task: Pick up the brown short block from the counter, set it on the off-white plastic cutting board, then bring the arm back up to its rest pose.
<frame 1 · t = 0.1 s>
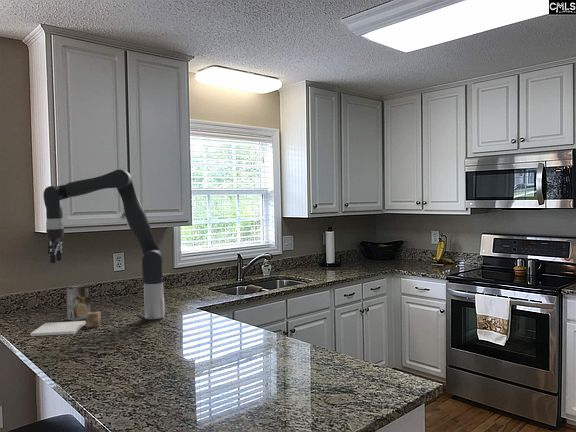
hand: (56, 261, 229), 29 cm above the table, tool pointing down, fingers open, 8 cm apart
brown short block: (94, 325, 223), on the table
coffee box: (79, 318, 237), on the table
cutting board: (59, 329, 217), on the table
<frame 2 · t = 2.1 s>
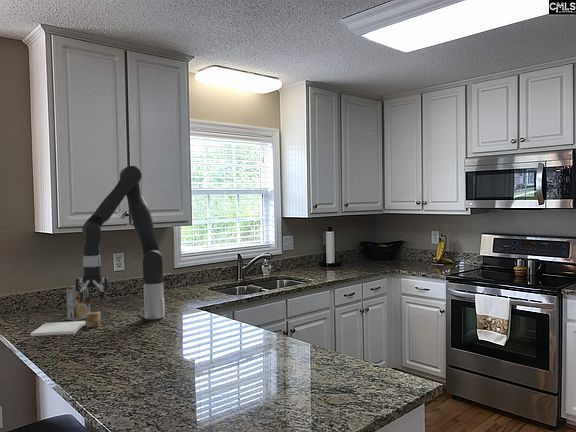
hand: (92, 299, 223), 12 cm above the table, tool pointing down, fingers open, 8 cm apart
nothing on the table moved.
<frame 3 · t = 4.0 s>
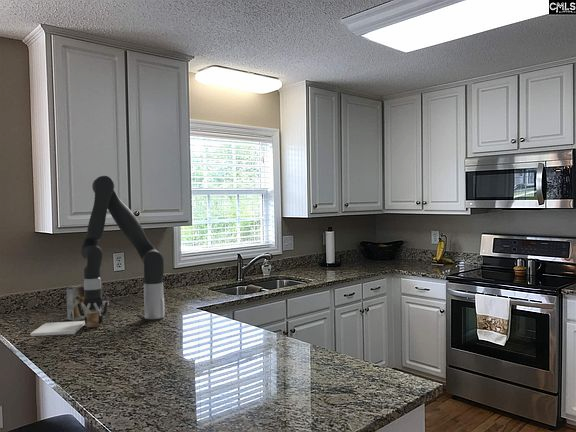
hand: (93, 323, 223), 1 cm above the table, tool pointing down, fingers closed on brown short block, 5 cm apart
brown short block: (94, 325, 223), on the table, touching gripper
everything else where it was.
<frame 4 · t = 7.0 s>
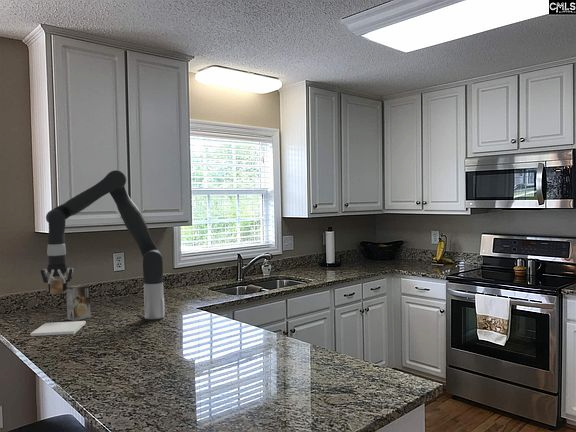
hand: (58, 291, 216), 17 cm above the table, tool pointing down, fingers closed on brown short block, 5 cm apart
brown short block: (58, 293, 217), point 17 cm above the table, touching gripper
everything else where it was.
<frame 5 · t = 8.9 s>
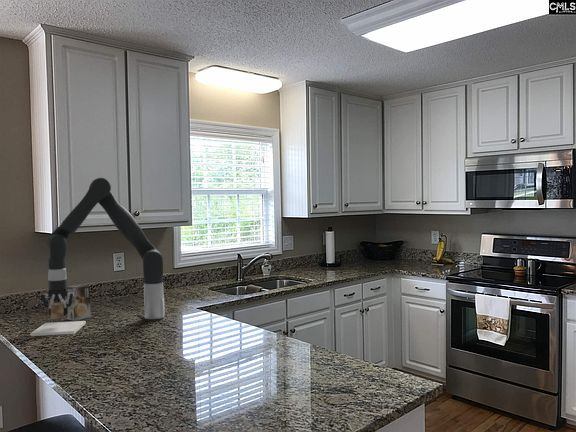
hand: (58, 315, 217), 6 cm above the table, tool pointing down, fingers closed on brown short block, 5 cm apart
brown short block: (58, 317, 217), point 5 cm above the table, touching gripper
everything else where it was.
when the fingers open (4 cm above the table, at t = 10.3 s): brown short block drops 2 cm, resting on cutting board.
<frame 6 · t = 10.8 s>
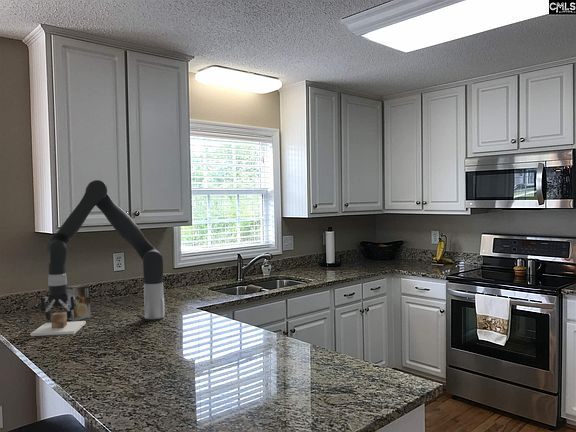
hand: (59, 319, 217), 5 cm above the table, tool pointing down, fingers open, 8 cm apart
brown short block: (59, 326, 217), point 1 cm above the table, touching cutting board
everything else where it was.
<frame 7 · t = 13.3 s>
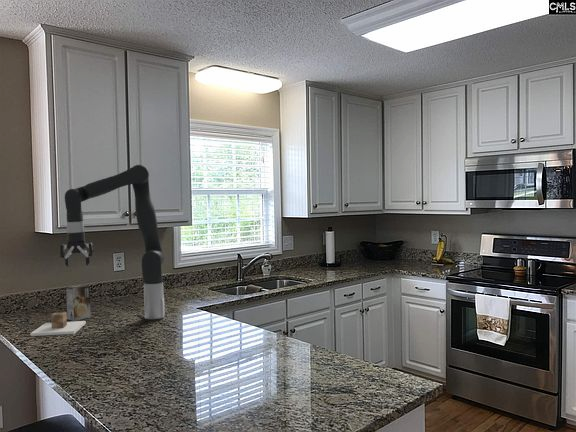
hand: (77, 265, 226), 28 cm above the table, tool pointing down, fingers open, 8 cm apart
nothing on the table moved.
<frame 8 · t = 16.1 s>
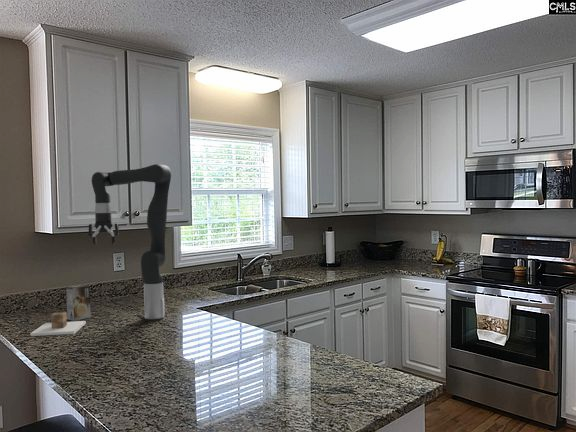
hand: (104, 244, 242), 36 cm above the table, tool pointing down, fingers open, 8 cm apart
nothing on the table moved.
at the end: brown short block inside the target area on the cutting board (0.0 cm from its centre), point 1.2 cm above the cutting board's base; brown short block tilted 0°; the gripper is holding nothing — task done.
